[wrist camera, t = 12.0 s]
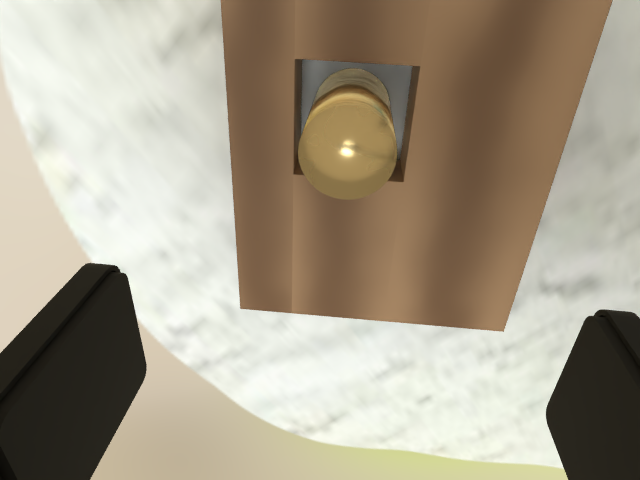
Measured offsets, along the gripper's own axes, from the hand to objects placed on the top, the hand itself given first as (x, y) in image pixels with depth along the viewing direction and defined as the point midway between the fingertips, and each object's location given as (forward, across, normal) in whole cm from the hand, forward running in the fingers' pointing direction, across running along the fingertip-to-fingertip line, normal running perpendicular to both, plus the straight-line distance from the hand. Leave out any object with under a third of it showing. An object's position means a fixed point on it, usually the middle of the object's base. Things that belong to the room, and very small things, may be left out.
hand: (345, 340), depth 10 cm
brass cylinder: (+18, 0, 0) cm, 18 cm away
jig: (+18, -2, +3) cm, 18 cm away
